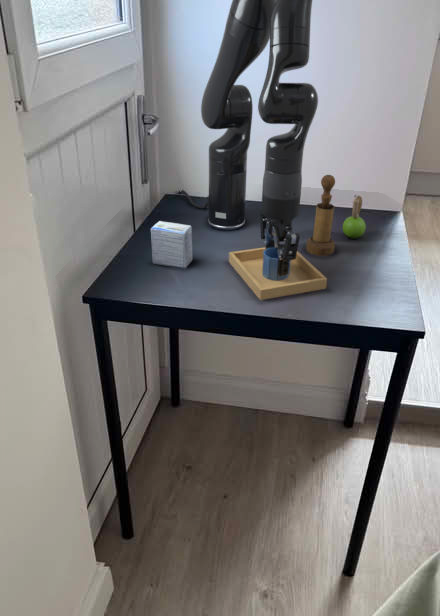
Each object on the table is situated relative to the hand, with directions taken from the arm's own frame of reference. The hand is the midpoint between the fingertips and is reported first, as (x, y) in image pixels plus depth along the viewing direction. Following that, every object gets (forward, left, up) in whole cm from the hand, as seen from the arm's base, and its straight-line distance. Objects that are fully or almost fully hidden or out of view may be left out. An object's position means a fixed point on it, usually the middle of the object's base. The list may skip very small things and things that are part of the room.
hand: (276, 267), depth 119 cm
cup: (0, 0, -2) cm, 2 cm away
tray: (0, 0, -2) cm, 2 cm away
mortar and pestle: (-8, +15, -2) cm, 17 cm away
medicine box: (-13, -19, -2) cm, 23 cm away
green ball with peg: (-12, +26, -2) cm, 29 cm away
